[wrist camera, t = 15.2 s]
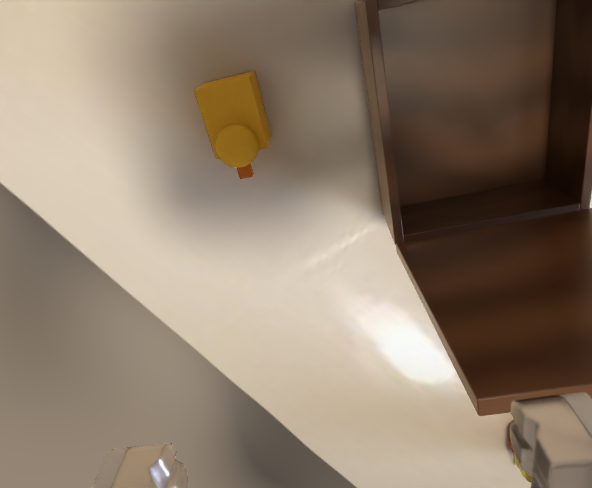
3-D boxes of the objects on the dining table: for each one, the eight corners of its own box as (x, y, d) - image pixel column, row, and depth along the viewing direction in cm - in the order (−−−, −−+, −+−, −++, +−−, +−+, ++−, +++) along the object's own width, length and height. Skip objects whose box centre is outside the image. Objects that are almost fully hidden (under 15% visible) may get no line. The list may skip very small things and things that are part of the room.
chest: (354, 2, 29) (364, 0, 24) (565, -51, 27) (624, -65, 22) (382, 213, 37) (395, 245, 32) (549, 182, 35) (590, 210, 30)
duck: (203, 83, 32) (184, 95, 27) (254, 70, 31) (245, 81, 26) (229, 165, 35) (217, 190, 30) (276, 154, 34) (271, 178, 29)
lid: (476, 399, 15) (486, 499, 16) (928, 339, 13) (893, 456, 15) (395, 243, 31) (403, 300, 33) (593, 207, 30) (593, 269, 31)
